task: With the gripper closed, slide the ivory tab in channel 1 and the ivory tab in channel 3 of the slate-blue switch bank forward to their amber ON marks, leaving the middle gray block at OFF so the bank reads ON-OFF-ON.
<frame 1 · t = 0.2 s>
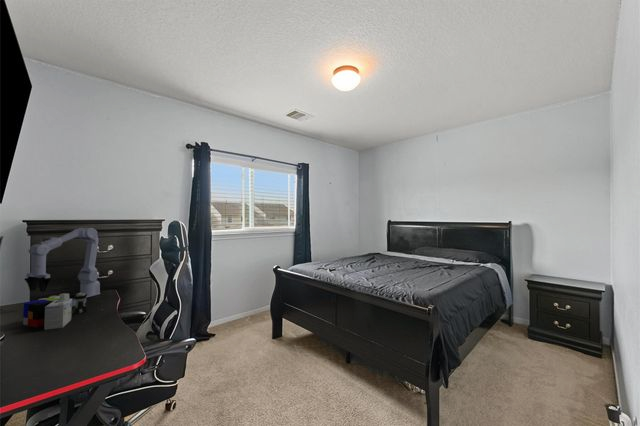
hand: (37, 290, 149), 10 cm above the table, fingers open, 7 cm apart
puzzle toy: (43, 322, 130), on the table
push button: (78, 312, 143), on the table
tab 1: (64, 297, 160), point 3 cm above the table, slide at 0.0 cm
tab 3: (43, 302, 150), point 3 cm above the table, slide at 0.0 cm
gray block 2: (54, 299, 155), point 3 cm above the table, slide at 0.0 cm
switch bank: (58, 305, 154), on the table
light bulb box: (58, 325, 127), on the table
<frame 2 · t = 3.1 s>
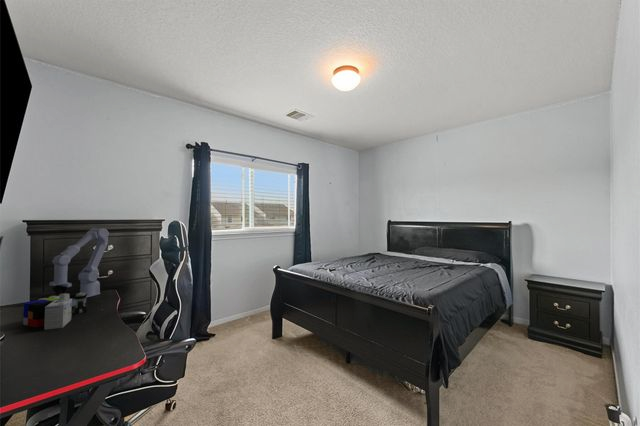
hand: (60, 298, 160), 2 cm above the table, fingers closed
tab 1: (64, 297, 160), point 3 cm above the table, slide at 0.1 cm, touching gripper
everything else where it was.
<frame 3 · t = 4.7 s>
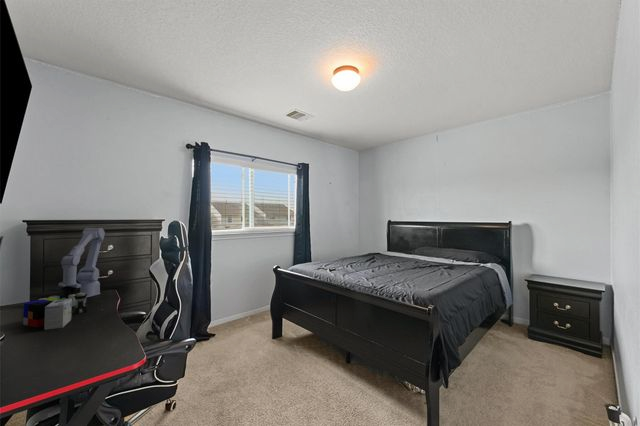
hand: (69, 299, 159), 2 cm above the table, fingers closed
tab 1: (73, 298, 158), point 3 cm above the table, slide at 7.1 cm, touching gripper
everything else where it was.
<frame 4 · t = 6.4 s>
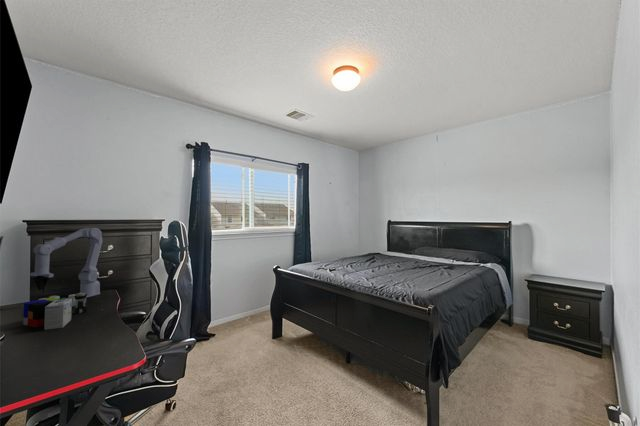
hand: (41, 289, 153), 10 cm above the table, fingers closed
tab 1: (73, 298, 158), point 3 cm above the table, slide at 7.1 cm
everything else where it was.
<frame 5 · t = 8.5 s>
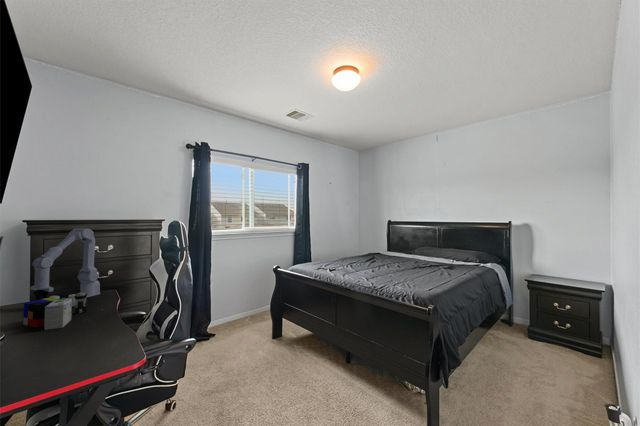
hand: (41, 303, 150), 2 cm above the table, fingers closed
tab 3: (45, 302, 149), point 3 cm above the table, slide at 1.6 cm, touching gripper
everything else where it was.
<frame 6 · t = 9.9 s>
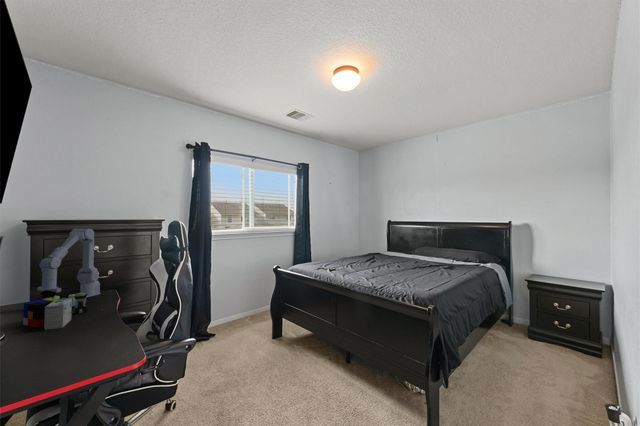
hand: (48, 304, 149), 2 cm above the table, fingers closed
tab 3: (53, 303, 148), point 3 cm above the table, slide at 7.1 cm, touching gripper
everything else where it was.
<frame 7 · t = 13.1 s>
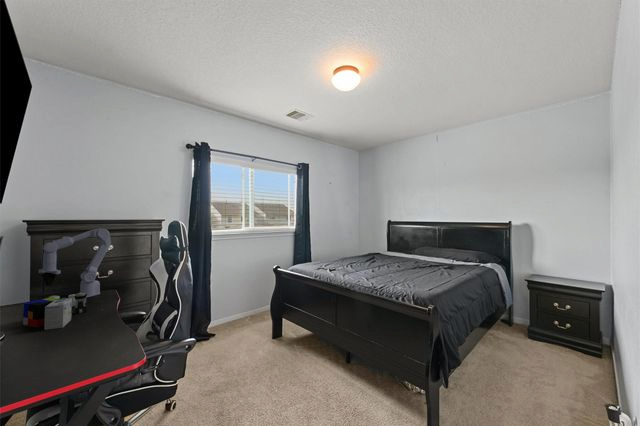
hand: (49, 285, 160), 10 cm above the table, fingers closed
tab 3: (53, 303, 148), point 3 cm above the table, slide at 7.1 cm
everything else where it was.
at the end: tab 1 slide at 7.1 cm; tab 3 slide at 7.1 cm; gray block 2 slide at 0.0 cm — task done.
